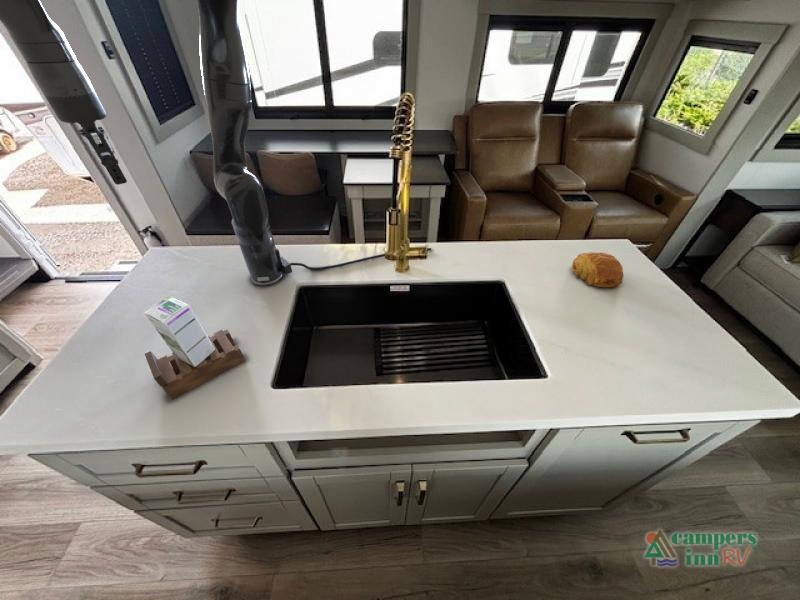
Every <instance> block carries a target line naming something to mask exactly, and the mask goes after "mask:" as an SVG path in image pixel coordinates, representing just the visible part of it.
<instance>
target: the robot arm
mask: <svg viewBox="0 0 800 600" xmlns="http://www.w3.org/2000/svg"><path fill="white" fill-rule="evenodd" d="M196 3H197V4H196V5H197V9H198V18H199V56H200V70H201V76H202V77H201V79H202V85H203V92H204V99H205V104H206V110H207V117H208V124H209V129H210V134H211V139H212V152H213V153H212V154H213V155H212V156H213V182H214V186H215V189H216V191H217V192H218V194H219V195H220V197H222V198H223V199H224V200H225V201H226V202H227V205H228V208H229V212H230V213H231V226H232V229H233V231H234V234H235V237H236V240H237V243H238V246H239V248H240V251H241V254H242V257H243V259H244V262H245V265H246V268H247V271H248V273H249V277H250V280H251V282H252V283H253V284H255V285H256V286H262V287H263V286H270V285H273V284H276V283H278V282H279V281H280V280H281V279H282V278H283V277H284V276H287V275H289V274H291V273H293V268H292V266H298V267H303V268H305V269H307V270H311V271H322V270H328V269H334V268H340V267H343V266H344V267H345V266H348V265H352V264H356V263H360V262H361V263H362V262H365V261H370V260H373V259H377V258H378V259H379V258H383V257H386V256H385V254H386V253H381V254H377V255H372V256H368V257H363V258H360V259H356V260H350V261H346V262H342V263H338V264H333V265H331V264H330V265H326V266H319V267H313V266H308V265H307V264H305V263H301V262H289V261H288V260H287V259H286V258H285V257H283V256H281V254H280V253H281V252H280V249H278V247H277V246H276V244H275V241H274V237H273V233H272V229H271V225H270V221H269V219H270V213H269V208H268V204H267V203H268V202H267V198H266V195H265V191H264V188H263V185H262V182H261V181H260V179H258V177H256V175H254V174H253V173H252V172H250V171H249V168H248V167H249V166H248V162H247V155H246V138H247V133H248V129H249V125H250V122H251V118H252V117H251V116H252V109H253V106H252V89H251V88H252V87H251V78H250V71H249V65H248V59H247V54H246V50H245V45H244V41H243V36H242V29H241V23H240V0H196ZM0 23H1V24H2V26H3V27H4V28H5V29H6V32H7V33H8V34H9V37H10V39H11V40H12V43H13V44H14V45H15V47H16V49H17V50H18V52H19V53H20V55H21V57H22V59H23V60H24V61H25V64H26V66H27V68H28V70H29V71H30V74H31V76H32V78H33V80H34V81H35V83H36V85H37V87H38V88H39V89H40V92H41V93H42V95H43V96H44V98H45V99H46V101H47V103H48V104H49V106H50V107H51V109H52V111H53V113H54V114H55V116H56V117H57V120H59V121H60V122H62V123H66V124H78V125H79V126H80V129H77V131H78V132H79V134H80V136H81V138H82V140H83V142H84V143H86V144H87V145H88V147H89V149H90V150H91V152H92V154H93V155H94V156H95V157H97V158H99V160H100V163H101V166H103V167H104V168H105V170H106V171H107V173H108V175H109V176H110V178H111V179H112V182H113V183H114V185H119V186H120V185H123V184H127V182H128V181H127V178H126V177H125V174H124V173H123V171H122V169H121V167H120V165H119V160H118V159H117V158H116V156H115V155H114V154H115V153H116V152H115V150H114V148H113V146H112V144H111V142H110V140H109V135H108V134H107V132H106V131H105V129H104V128H103V126H97V124H96V121H101V120H104V119H105V118H106V117H107V115H108V114H107V111H106V110H105V108H104V105H103V104H102V102H101V100H100V98H99V96H98V94H97V92H96V90H95V89H94V87H93V84H92V83H91V80H90V79H89V77H88V75H87V74H86V72H85V71H84V69H83V67H82V65H81V64H80V63H79V61H78V60H77V57H76V55H75V53H74V52H73V50H72V48H71V46H70V44H69V42H68V40H67V38H66V36H65V34H64V32H63V31H62V30H61V28H60V27H59V26H58V24H57V23H56V22H55V21H54V20H53V19H51V17H49V15H48V13H47V12H46V10H45V8H44V6H43V5H42V2H41V1H40V0H0ZM426 248H427V251H429V252H430V251H432V248H431V247H430V248H429V247H426ZM427 251H426V252H427Z"/></svg>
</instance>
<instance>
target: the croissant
mask: <svg viewBox="0 0 800 600" xmlns="http://www.w3.org/2000/svg"><path fill="white" fill-rule="evenodd" d="M571 268H572V272H573V273H574V275H576V276H577V277H578V278H580V279H581V280H583V281H584V282H585V284H587V285H589V286H594V287H597V288H613V287H617V286H619V285H621V284H622V283H623V279H624V268H623V265H622V264H621V262H620V261H619V260H618V259H617V258H616V257H615V256H614V255H612V254H609V253H606V252H599V251H598V252H593V251H590V252H583V253H579V254H578V255H577V256H576V257H575V258H574V259H573V261H572V265H571ZM593 284H594V285H593ZM618 284H619V285H618Z"/></svg>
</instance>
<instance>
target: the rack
mask: <svg viewBox="0 0 800 600" xmlns="http://www.w3.org/2000/svg"><path fill="white" fill-rule="evenodd" d="M207 336H208V338H209V339H210V341H211V343H212V345H213V346H214V348H215V350H214V351H213V352H212V353H211V354H210V355H209V356H208V357H206V358H205V359H204V360H203V361H202V362H201V363H199V364H198V365H197V366H196V367H193V366H192V365H190V364H188V363H186V362H184V361H182V360H180V359H178V358H177V357H176V356H175V354H174V353H173V352H171V355H164V356H162V357H160V358H157V357H156V355H155V354H154V353H153V352H152V351H151V350H150V351H148V352H146V353H144V356H145V359H146V362H147V365H148V367H149V369H150V372H151V374H152V376H153V379H154V381H155V382H156V383H157V384H158V385H159V386H160V387H161V389H162V390H163V391H164V392H165V393H166V394H167V396H168V397H169V399H171V400H174V399H175V398H178V397H180V396H181V395H183V394H186V393H187V392H189V391H191V390H193V389H195V388H196V387H199V386H200V385H202V384H204V383H206V382H208V381H210V380H211V379H213V378H215V377H217V376H220V375H221V374H223V373H224V372H228V370H230V369H232V368H234V367H236V366H238V365H240V364H241V363H244V362H245V361H246V358H245V356H244V354H243V352H242V350H241V348H240V346H239V344H236V343H235V341H234V339H233V337H232V335H231V333H230V331H229V329H227V328H225V330H223V329H220V330H218V331H216V332H213V335H211V336H210V335H207Z"/></svg>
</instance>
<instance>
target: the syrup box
mask: <svg viewBox="0 0 800 600" xmlns="http://www.w3.org/2000/svg"><path fill="white" fill-rule="evenodd" d="M144 315H145V317H146V318H147V319H148V321H149V322H150V324H151V325H152V327H154V329H155V330H156V331H157V333H158V334H159V335H160V337H161V338H162V340H163V341H164V342H165V344H166V345H167V347H168V348H169V349H170V351H172V353H174V354H175V356H176V357H177V358H178V359H180V360H182V361H184V362H186V363H188V364H190V365H192V366H191V367H196V366H197V365H198V364H199V363H201V362H202V361H203V360H204V359H205V358H206V357H208V356H209V355H210V354H211V353H212V352H213V351H214V350H215V348H214V346H213V345H212V343H211V341H210V339H209V338H208V336H209V335H208V334H207V332H206V331H205V329H204V328H203V326H202V324H201V323H200V321H199V319H198V318H197V316H196V314H195V313H194V311H193V309H192V308H191V306H190V305H189V304H188V303H186V302H183V301H181V300H179V299H176V298H175V297H173V296H170V295H169V296H167V297H165V298H164V299H162V300H160V301H159V302H157V303H156V304H154V305H152V306H151V307H149V309H148V310H146V311H145V312H144ZM205 360H206V359H205Z"/></svg>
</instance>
